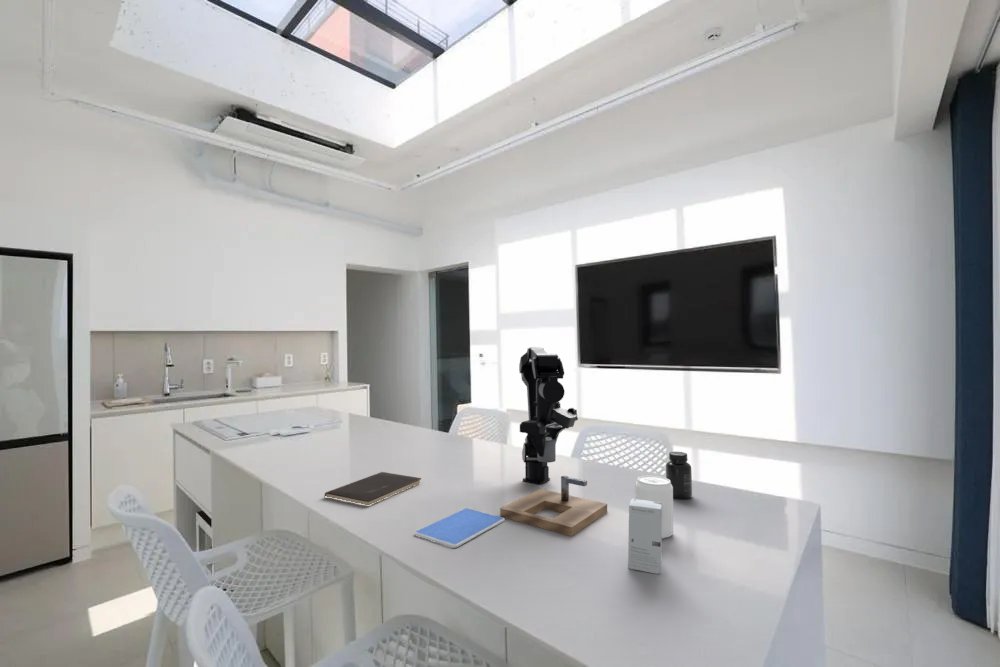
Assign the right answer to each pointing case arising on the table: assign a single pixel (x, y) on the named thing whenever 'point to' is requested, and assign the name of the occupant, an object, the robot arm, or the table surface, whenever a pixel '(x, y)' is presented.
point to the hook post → (565, 486)
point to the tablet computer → (459, 527)
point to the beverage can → (658, 498)
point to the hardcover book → (373, 488)
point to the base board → (568, 522)
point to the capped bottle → (548, 451)
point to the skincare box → (645, 536)
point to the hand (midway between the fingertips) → (546, 454)
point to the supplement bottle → (679, 475)
